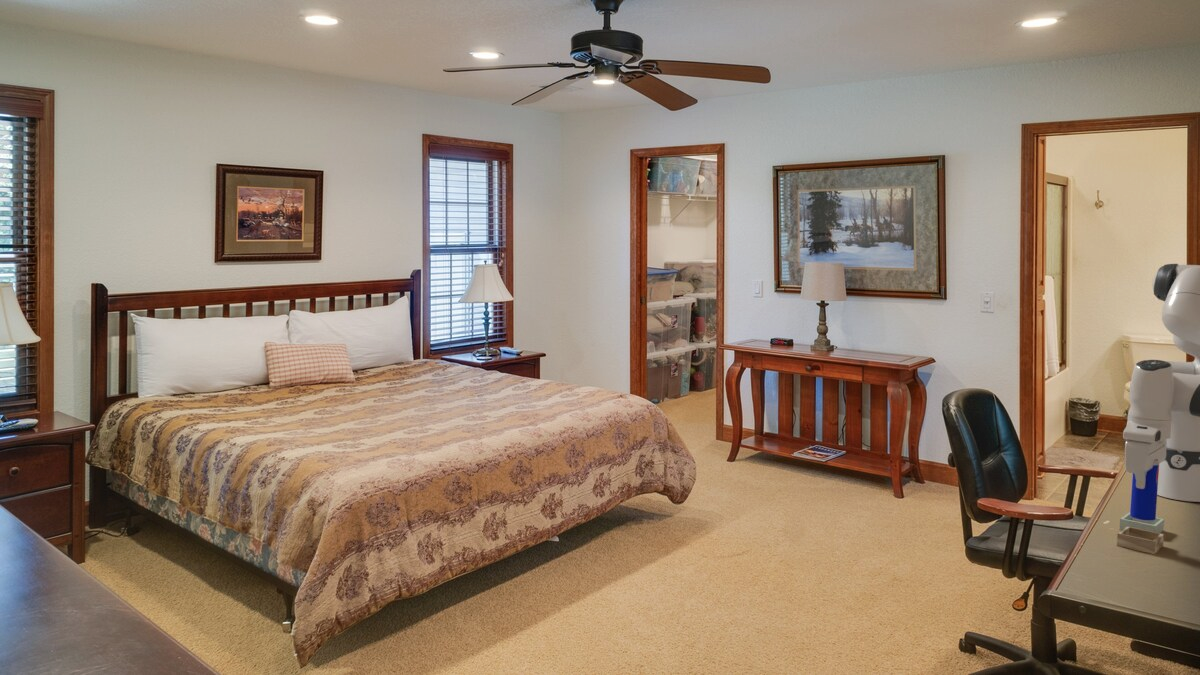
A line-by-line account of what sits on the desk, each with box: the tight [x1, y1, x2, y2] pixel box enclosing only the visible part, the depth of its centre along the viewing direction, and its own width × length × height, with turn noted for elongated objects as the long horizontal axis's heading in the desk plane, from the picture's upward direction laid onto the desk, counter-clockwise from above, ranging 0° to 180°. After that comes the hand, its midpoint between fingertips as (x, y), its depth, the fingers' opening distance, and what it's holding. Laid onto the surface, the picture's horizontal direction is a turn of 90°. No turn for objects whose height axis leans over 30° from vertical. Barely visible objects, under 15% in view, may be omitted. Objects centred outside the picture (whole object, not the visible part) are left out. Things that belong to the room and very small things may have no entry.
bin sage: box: [1118, 511, 1165, 534], centre depth 214 cm, size 8×8×3 cm
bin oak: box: [1116, 526, 1165, 555], centre depth 203 cm, size 8×8×3 cm
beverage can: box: [1129, 459, 1159, 522], centre depth 202 cm, size 5×5×15 cm
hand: (1144, 485), depth 202 cm, fingers closed on beverage can, 5 cm apart
